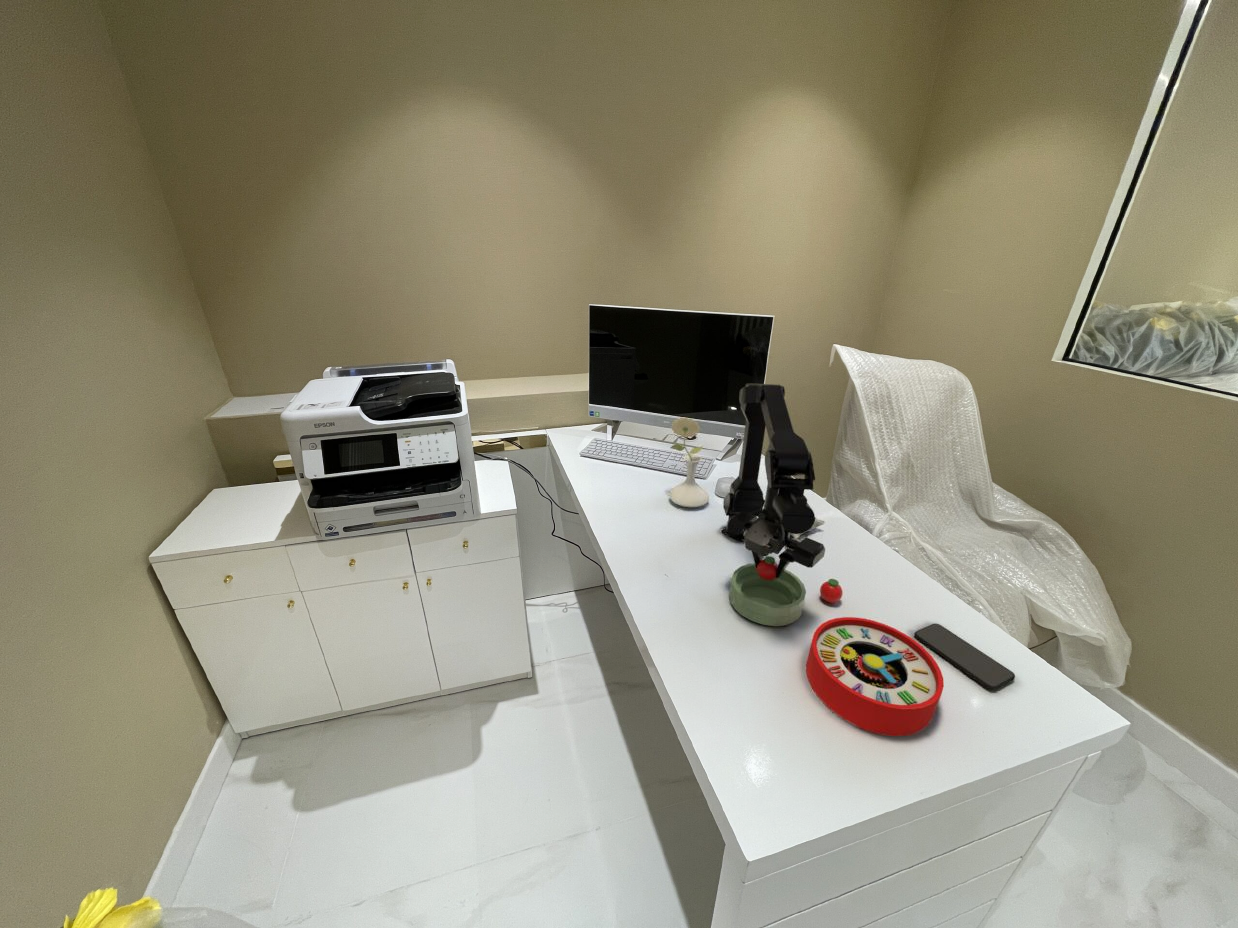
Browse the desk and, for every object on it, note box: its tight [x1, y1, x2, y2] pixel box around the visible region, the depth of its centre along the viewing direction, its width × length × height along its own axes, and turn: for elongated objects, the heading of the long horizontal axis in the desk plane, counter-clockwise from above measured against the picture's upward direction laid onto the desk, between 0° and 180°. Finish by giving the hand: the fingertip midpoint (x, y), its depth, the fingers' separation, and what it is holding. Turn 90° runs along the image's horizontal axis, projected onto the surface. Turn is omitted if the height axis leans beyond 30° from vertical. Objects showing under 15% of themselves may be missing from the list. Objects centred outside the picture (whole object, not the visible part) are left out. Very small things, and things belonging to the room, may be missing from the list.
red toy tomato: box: [819, 578, 844, 604], centre depth 105 cm, size 4×4×5 cm
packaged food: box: [790, 517, 826, 539], centre depth 131 cm, size 9×12×5 cm
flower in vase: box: [668, 416, 710, 508], centre depth 140 cm, size 13×11×25 cm
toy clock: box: [805, 616, 945, 737], centre depth 85 cm, size 20×6×20 cm
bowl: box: [728, 562, 807, 627], centre depth 104 cm, size 15×15×5 cm
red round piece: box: [757, 555, 779, 580], centre depth 103 cm, size 4×4×5 cm
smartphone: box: [913, 623, 1016, 691], centre depth 92 cm, size 7×1×15 cm
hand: (767, 572), depth 103 cm, fingers closed on red round piece, 4 cm apart
